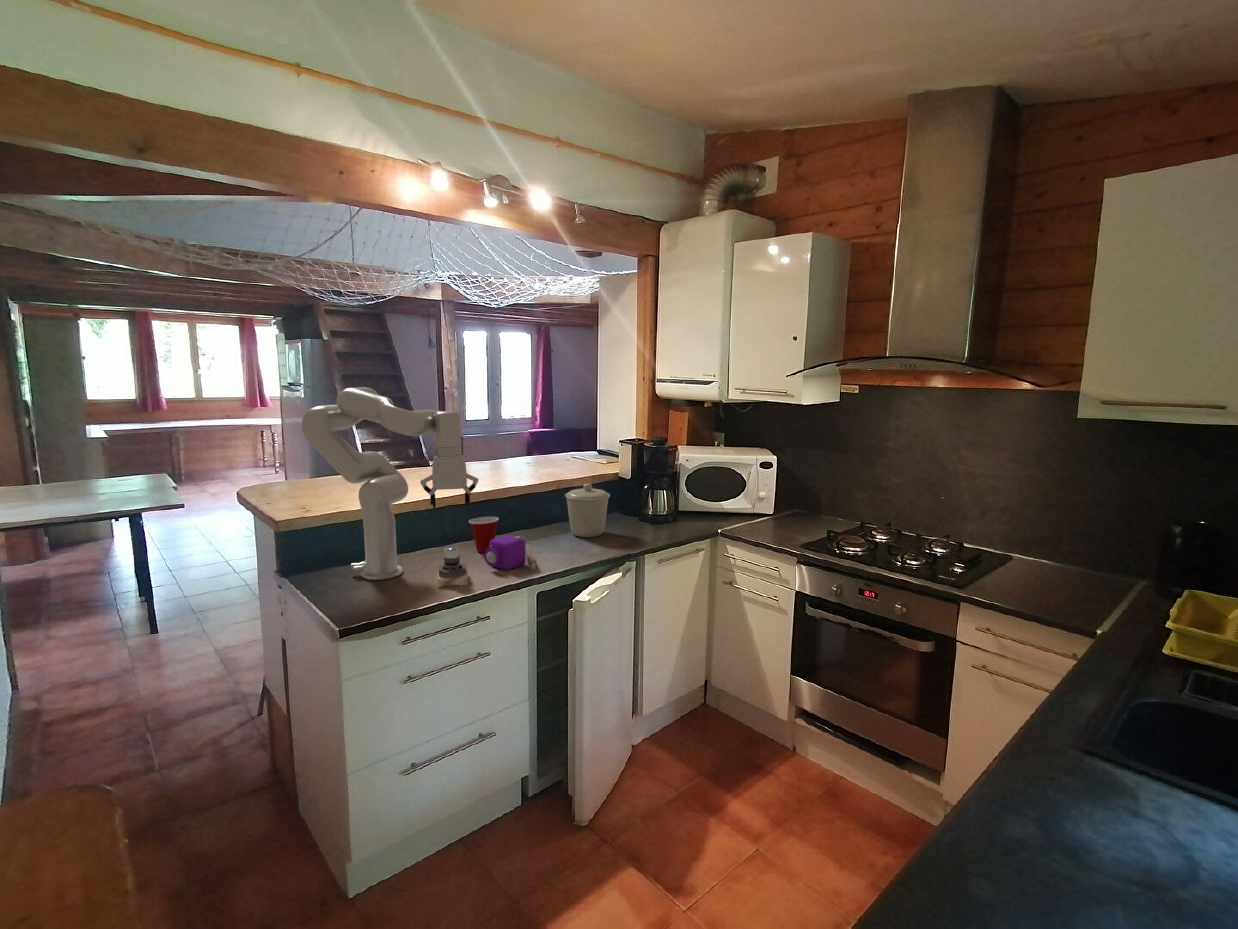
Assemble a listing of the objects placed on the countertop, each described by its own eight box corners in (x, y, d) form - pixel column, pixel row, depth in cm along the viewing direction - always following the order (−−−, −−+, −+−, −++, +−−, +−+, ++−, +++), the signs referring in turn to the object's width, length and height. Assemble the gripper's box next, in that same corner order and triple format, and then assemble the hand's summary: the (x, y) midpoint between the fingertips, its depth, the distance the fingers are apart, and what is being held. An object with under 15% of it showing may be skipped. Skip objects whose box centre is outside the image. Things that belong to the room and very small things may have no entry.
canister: (596, 526, 260) (596, 478, 257) (617, 536, 245) (618, 485, 241) (557, 531, 251) (557, 481, 247) (577, 542, 236) (577, 489, 232)
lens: (444, 576, 189) (443, 551, 188) (444, 571, 194) (443, 547, 192) (460, 575, 190) (459, 550, 189) (459, 570, 195) (459, 545, 194)
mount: (438, 587, 187) (437, 573, 186) (438, 577, 195) (437, 564, 195) (468, 584, 189) (467, 570, 189) (466, 575, 198) (466, 561, 197)
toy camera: (479, 570, 203) (478, 541, 201) (503, 558, 215) (502, 531, 214) (505, 575, 199) (505, 545, 197) (529, 563, 211) (528, 535, 209)
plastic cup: (484, 544, 232) (483, 513, 230) (505, 549, 226) (505, 517, 224) (463, 551, 223) (462, 519, 221) (484, 556, 217) (483, 524, 215)
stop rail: (530, 570, 203) (530, 560, 203) (525, 557, 217) (524, 548, 216) (535, 570, 204) (535, 560, 203) (529, 557, 217) (529, 548, 216)
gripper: (418, 454, 180) (420, 510, 182) (478, 452, 185) (479, 507, 187) (419, 450, 187) (421, 505, 190) (477, 449, 192) (478, 502, 194)
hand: (450, 506), depth 188 cm, fingers open, 9 cm apart
